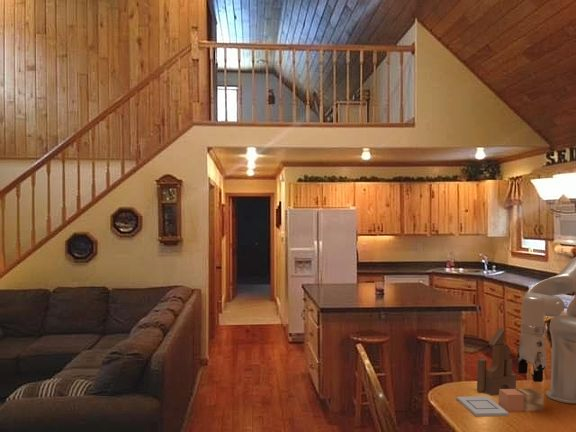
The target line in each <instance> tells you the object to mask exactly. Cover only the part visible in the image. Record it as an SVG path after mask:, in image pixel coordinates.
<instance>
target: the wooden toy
mask: <svg viewBox="0 0 576 432" xmlns="http://www.w3.org/2000/svg"><path fill="white" fill-rule="evenodd" d="M488 345H490V346H492V357H491V358H492V361H491V364H490V366H489V367H488V368H487V359H486V358H482V357H481V358H480V357H479V358H477V373H476V374H477V377H476V381H477V382H476V391H477V392H479V393H485V394H488V395H490V396H495V395H499V389H516V388H517V374H516V373H514V372H513V359H512V358H511V348H510V346H509V345H508V343H506V342H505V329H504V328H501V327H499V328H497V330H496V332H495V333H494V335H493V336H492V337H491V339H490V341H489V342H488ZM516 390H517V389H516Z"/></svg>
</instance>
